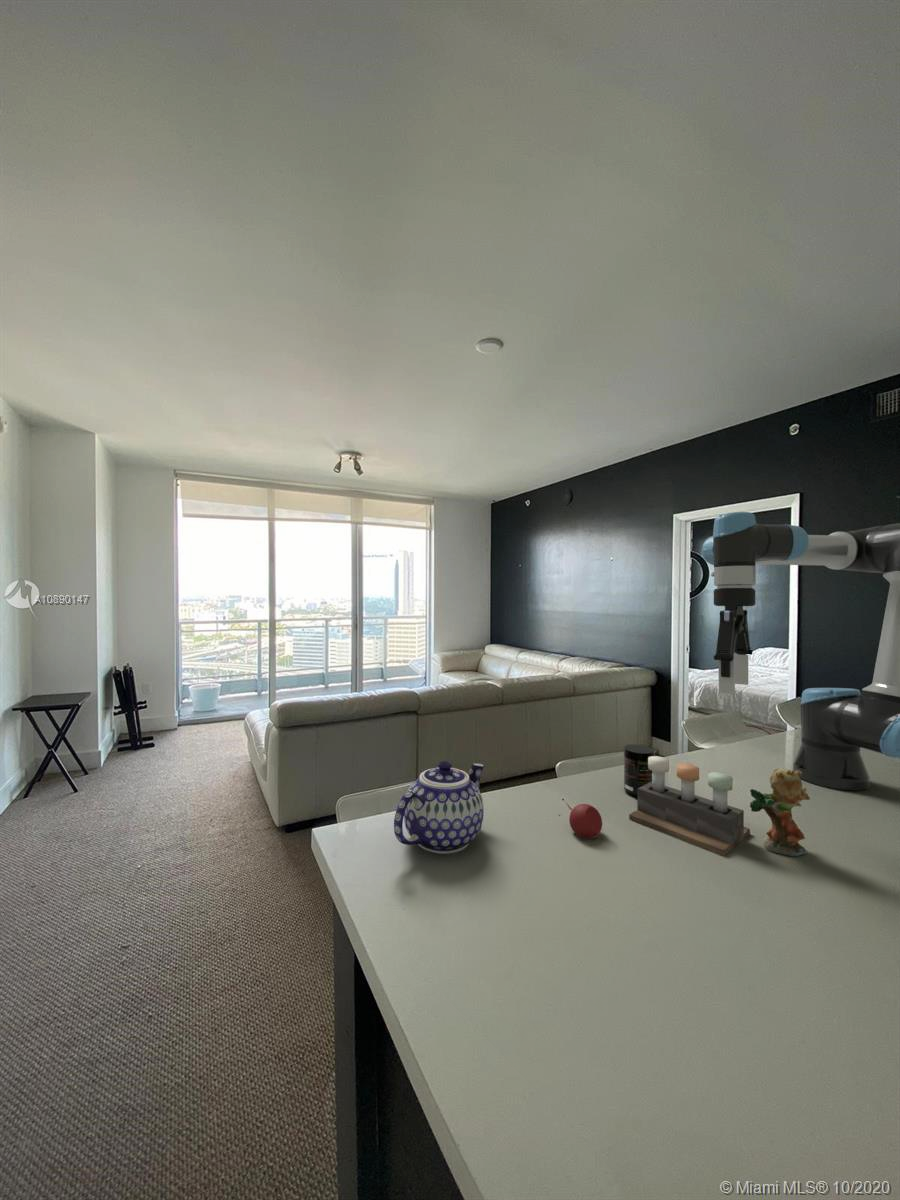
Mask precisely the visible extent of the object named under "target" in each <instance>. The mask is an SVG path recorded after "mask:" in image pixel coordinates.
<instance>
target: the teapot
mask: <svg viewBox="0 0 900 1200" xmlns="http://www.w3.org/2000/svg"><path fill="white" fill-rule="evenodd" d="M484 767H485V765H483V764H482V763H472V764H471V766H470V768H469V771H468V773H467V772H466V771H464V770H462V769H458V768H455V767H453V764H452V763H451V761H447V760H442V761H439V762H438V764H437V767H435V768H433V767H432V768H429V769H426V770H424V771H422V772H421V773H420V774H419V776H418V778H417V779H416V780H415V781H414V782H413V783H412V784H411V785H410V786H409V788H408V789H407V791H406V792H405V793H404V794H403V795H402V796H401V798H400V800H399V803H398V805H397V807H396V810H395V815H394V819H393V832H394V836H395V838H396V840H398V842H399V843H401V844H403V845H406V846H414V845H418V846H419V847H420V848H421V849H423V850H424V851H426V852H430V853H433V854H439V855H451V854H455V853H459V852H461V851H463V850H465V849H466V848H467V847H468V845H469V844H470V843H472V842H473V841H474V840H475V839H476V838H477V836H478V835H479V834H480V831H481V829H482V827H483V826H482V825H483V821H484V802H483V801H484V800H483V797H482V793H481V791H480V782H481V775H482V772H483V769H484ZM403 822H404V825H405V826H404V827H405V828H406V831H407V833H408V835H409V836H410V837H409V838H406V837H405V836H404V831H403Z"/></svg>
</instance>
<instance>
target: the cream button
mask: <svg viewBox="0 0 900 1200" xmlns="http://www.w3.org/2000/svg"><path fill="white" fill-rule="evenodd" d="M648 768H649V769H650V770H652V790H653V791H655V792H659V793H663V792H665V786H666V785H665V783H666V781H665V780H666V777H665V776H666V773H668V772H669V771H670V759H669V758H666V757H663V756H659V755H658V756H657V755H655V756H651V757H648Z"/></svg>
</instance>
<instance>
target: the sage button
mask: <svg viewBox="0 0 900 1200" xmlns="http://www.w3.org/2000/svg"><path fill="white" fill-rule="evenodd" d="M707 776H708V777H707V784H708V787H709V788H712V801H713V810H714V811H717V812H720V813H727V805H728V794H729V793H728V792H729V791H732V790H733V776H731V775H730V774H727V773H723V772H717V771H711V772H708V775H707Z"/></svg>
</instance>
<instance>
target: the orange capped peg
mask: <svg viewBox="0 0 900 1200" xmlns="http://www.w3.org/2000/svg"><path fill="white" fill-rule="evenodd" d="M676 777H677V778H678V779H680V791H681V800H683V801H686V802H694V801H695V795H696V794H695V793H696V792H695V788H696V787H695V786H696V785H695V782H697V781H699V780H700V768H699V767H698V766H696V765H694V764H689V763H677V764H676Z"/></svg>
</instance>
